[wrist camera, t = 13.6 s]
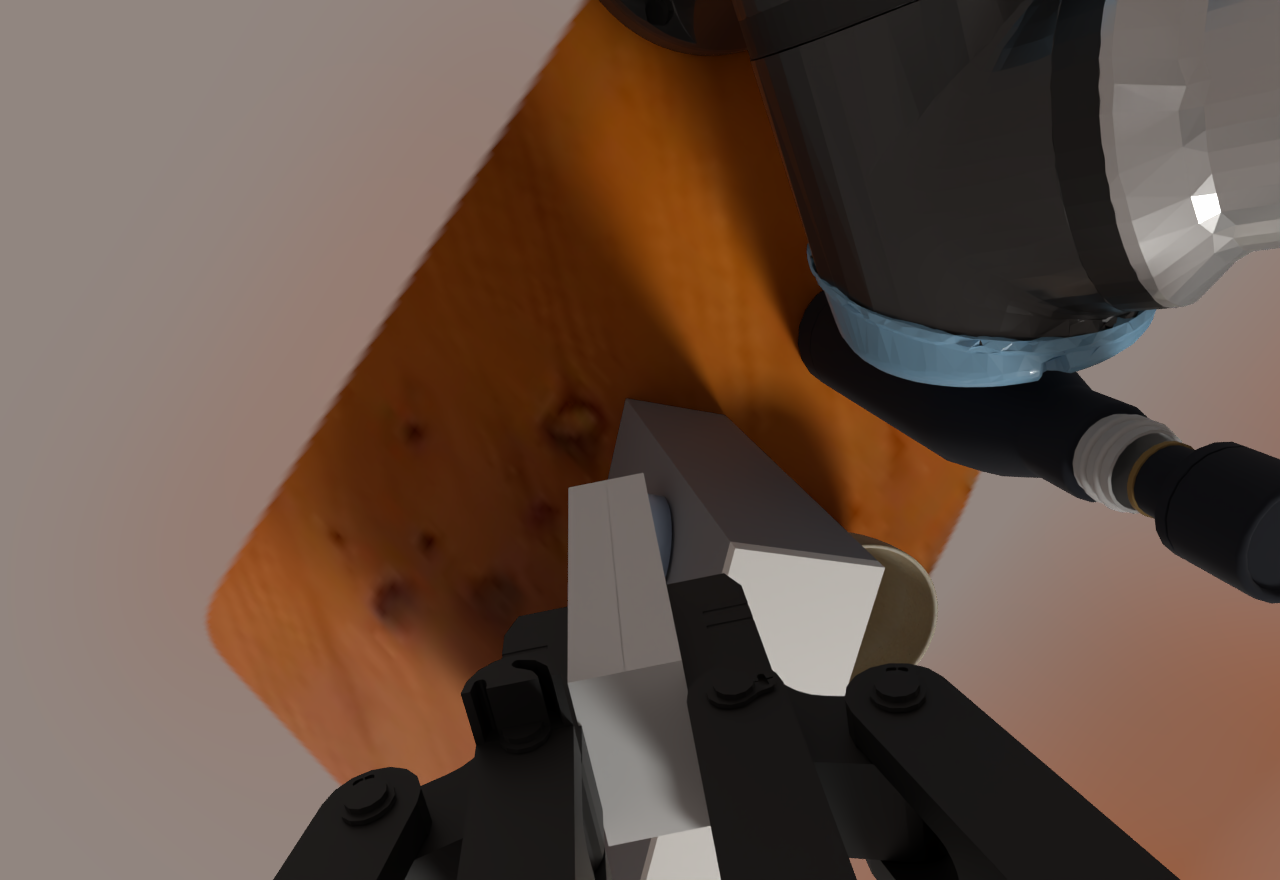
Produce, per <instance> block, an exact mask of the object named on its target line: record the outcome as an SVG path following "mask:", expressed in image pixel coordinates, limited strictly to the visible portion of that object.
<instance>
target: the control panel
mask: <svg viewBox="0 0 1280 880" xmlns="http://www.w3.org/2000/svg"><path fill="white" fill-rule="evenodd" d="M639 473H644V478H645V483H646V488H647V493H648V494H653V495H660V496H663V497H665V498H666V500H667V502H668V505H669V508H670V513H671V522H672V540H671V552H670V559H669V565H668V570H667V574H666V578H665V581H666V585H667V584H672V583H677V582H682V581H687V580H692V579H697V578H702V577H707V576H712V575H717V574H722V573H725V574H726V575H727V576H729V577H730V578H732V579H733V580H734V581H736V582H737V583H739V584H740V585H742V588H743V591H744V594H745V596H746V599H747V602H748V606H749V607H750V610H751V613H752V616H753V620H754V621H755V624H756V627H757V629H758V632H759V635H760V638H761V640H762V643H763V646H764V649H765V651H766V654H767V657H768V660H769V662H770V665H771V668H772V670H773V671H774V672H776V673H777V674H778V676H779V677H780V678H781V680H782V681H783V682H784V684H785V685H786V686H788V687H790V688H793V689H795V690H797V691H800V692H804V693H808V694H813V695H823V696H845V693H846V687H847V685H848V684H849V680H850V677H851V674H852V671H853V668H854V665H855V661H856V658H857V655H858V652H859V649H860V646H861V642H862V639H863V636H864V633H865V630H866V627H867V623H868V620H869V617H870V614H871V611H872V608H873V604H874V601H875V598H876V595H877V592H878V589H879V585H880V582H881V579H882V576H883V573H884V570H885V567H884V566H883V565H882V564H881V563H880V562H878V561H877V560H876V559H875V558H874V557H873V556H872V555H871V554H870V553H869V552H868V551H867V550H866V549H865V548H864V547H863V546H862V545H861V544H860V543H859V542H858V541H856V540H855V539H854V538H853V537H852V536H851V535H850V534H849V533H848V532H847V531H846V530H845V529H844V528H843V527H842V526H841V525H840V524H839V523H838V522H837V521H835V520H834V519H833V518H832V517H831V516H830V515H829V514H828V513H827V512H826V511H825V510H824V509H823V508H822V507H821V506H820V505H819V504H818V503H817V502H816V501H815V500H813V499H812V498H811V497H810V496H809V495H808V494H807V493H806V492H805V491H804V490H803V489H802V488H801V487H800V486H799V485H798V484H797V483H796V482H795V481H794V480H793V479H791V478H790V477H789V476H788V475H787V474H786V473H785V472H784V471H783V470H782V469H781V468H780V467H779V466H778V465H777V464H776V463H775V462H774V461H773V460H772V459H770V458H769V457H768V456H767V455H766V454H765V453H764V452H763V451H762V450H761V449H760V448H759V447H758V446H757V445H756V444H755V443H754V442H753V441H752V440H751V439H750V438H748V437H747V436H746V435H745V434H744V433H743V432H742V431H741V430H740V429H739V428H738V427H737V426H736V425H735V424H734V423H733V422H732V421H731V420H730V419H729V418H728V417H726V416H725V415H722V414H716V413H710V412H704V411H698V410H692V409H686V408H681V407H675V406H669V405H663V404H657V403H651V402H645V401H639V400H633V399H627V398H626V400H625V405H624V409H623V414H622V418H621V423H620V427H619V431H618V436H617V440H616V445H615V449H614V454H613V458H612V463H611V467H610V472H609V476H608V480H609V479H614V478H619V477H624V476H629V475H634V474H639ZM604 846H605V851H606V855H607V859H608V863H609V867H610V871H611V875H612V880H721V877H720V872H719V867H718V862H717V857H716V852H715V846H714V841H713V836H712V831H711V826H707V827H702V828H697V829H692V830H687V831H682V832H677V833H672V834H667V835H663V836H658V837H653V838H648V839H643V840H638V841H633V842H628V843H623V844H618V845H613V846H608V842H607V838H606V834H605V830H604Z"/></svg>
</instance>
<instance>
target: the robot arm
mask: <svg viewBox="0 0 1280 880" xmlns="http://www.w3.org/2000/svg"><path fill="white" fill-rule="evenodd" d="M599 1H600V2H601V3H602V4H603V5H604V6H605V7H606V9H607V10H608V11H609V12H610V13H611V14H612V15H613V16H614V17H616V18H617V19H618V20H619V21H620V22H621V23H623V24H624V25H625V26H626V27H628V28H629V29H630V30H632V31H633V32H635V33H636V34H638V35H640V36H641V37H643V38H644V39H646V40H648V41H650V42H652V43H654V44H657V45H659V46H662V47H664V48H667V49H670V50H673V51H677V52H681V53H686V54H693V55H704V56H716V55H727V54H732V53H738V52H742V51H745V50H748V52H749V56H750V59H751V60H750V62H751V65H752V68H753V71H754V74H755V78H756V81H757V84H758V87H759V90H760V93H761V96H762V99H763V103H764V106H765V109H766V112H767V115H768V118H769V121H770V124H771V128H772V131H773V134H774V137H775V140H776V143H777V146H778V149H779V153H780V156H781V159H782V162H783V165H784V168H785V171H786V174H787V178H788V181H789V184H790V187H791V190H792V193H793V196H794V200H795V203H796V206H797V209H798V212H799V215H800V218H801V221H802V225H803V228H804V231H805V234H806V237H807V240H808V244H807V258H808V263H809V266H810V269H811V272H812V274H813V275H814V276H815V277H816V279H817V282H818V284H819V285H820V287H821V288H822V289H823V290H824V292H825V295H826V297H827V300H828V303H829V305H830V308H831V311H832V314H833V316H834V319H835V322H836V324H837V327H838V329H839V331H840V333H841V335H842V337H843V339H845V341H846V342H847V343H848V345H849V346H850V347H851V348H852V350H853V351H854V352H855V353H856V354H857V355H859V356H860V357H861V358H862V359H863V360H864V361H866V362H868V363H869V364H871V365H873V366H874V367H876V368H878V369H880V370H882V371H884V372H886V373H889V374H891V375H894V376H897V377H900V378H903V379H907V380H911V381H915V382H920V383H926V384H932V385H941V386H952V387H995V386H1007V385H1014V384H1021V383H1028V382H1034V381H1038V380H1039V379H1040V378H1041V376H1042V373H1043V372H1045V371H1047V370H1050V371H1062V372H1066V373H1073V372H1076V371H1079V370H1082V369H1085V368H1088V367H1091V366H1093V365H1096V364H1098V363H1101V362H1103V361H1105V360H1107V359H1109V358H1111V357H1113V356H1115V355H1116V354H1118V353H1119V352H1121V351H1123V350H1124V349H1126V348H1127V347H1129V346H1131V345H1132V344H1133V343H1135V341H1136V340H1137V339H1138V338H1139V337H1140V336H1141V335H1142V334H1143V333H1144V332H1145V330H1146V329H1147V328H1148V327H1149V325H1150V324H1151V322H1152V320H1153V317H1154V314H1155V311H1156V309H1165V308H1177V307H1184V306H1187V305H1191V304H1193V303H1195V302H1197V301H1198V300H1199V299H1200V298H1201V297H1202V296H1203V295H1204V294H1205V293H1206V292H1207V291H1208V290H1209V289H1210V288H1211V287H1212V286H1213V285H1214V284H1215V283H1216V282H1217V281H1218V280H1219V278H1221V277H1222V275H1223V274H1224V273H1225V272H1226V271H1227V270H1228V269H1229V268H1230V267H1231V266H1232V265H1233V264H1234V263H1235V262H1236V261H1238V260H1239V259H1241V258H1243V257H1244V256H1246V255H1248V254H1249V253H1251V252H1253V251H1259V250H1268V249H1276V248H1280V0H599ZM502 656H503V658H502V659H501V660H498V661H495V662H493V663H491V664H489V665H488V666H486V667H484V668H482V669H480V670H479V671H478V672H476V673H475V674H474V675H473V676H472V677H471V678H470V679H469V680H468V681H467V682H466V684H465V686H464V688H463V690H462V692H461V696H462V699H463V703H464V706H465V709H466V713H467V716H468V719H469V723H470V726H471V729H472V733H473V736H474V739H475V743H476V750H475V757H474V758H473V759H472V760H471V761H469V762H468V763H466V764H465V765H464V766H462V767H461V768H459V769H457V770H455V771H453V772H451V773H449V774H447V775H445V776H443V777H441V778H438V779H436V780H434V781H431V782H429V783H427V784H424V785H422V786H420V783H419V780H418V777H417V776H416V775H415V774H413V773H412V772H410V771H409V770H407V769H402V768H394V767H387V768H382V769H376V770H371V771H369V772H366V773H364V774H361V775H359V776H357V777H354V778H352V779H351V780H349V781H348V782H346V783H345V784H343V785H342V786H340V787H339V788H338V789H336V790H335V791H334V792H333V793H332V794H331V795H330V797H328V799H327V800H326V801H325V802H324V803H323V804H322V806H321V807H320V809H319V810H318V812H317V813H316V815H315V817H314V818H313V819H312V821H311V822H310V824H309V826H308V827H307V829H306V830H305V832H304V833H303V835H302V836H301V838H300V840H299V841H298V842H297V844H296V845H295V847H294V849H293V850H292V852H291V853H290V855H289V856H288V858H287V859H286V861H285V863H284V864H283V866H282V867H281V869H280V870H279V872H278V873H277V875H276V876H275V878H274V879H273V880H612V875H611V871H610V867H609V863H608V859H607V855H606V851H605V846H604V830H605V834H606V838H607V842H608V846H613V845H618V844H623V843H628V842H633V841H638V840H643V839H648V838H653V837H658V836H663V835H667V834H672V833H677V832H682V831H687V830H692V829H697V828H702V827H707V826H711V831H712V836H713V841H714V846H715V852H716V857H717V862H718V867H719V872H720V877H721V880H857V879H856V876H855V873H854V871H853V868H852V865H851V863H850V860H849V858H859V859H866V861H867V863H868V866H869V868H870V870H871V872H872V874H873V875H874V877H875V878H876V879H877V880H1180V879H1179V878H1178V877H1176V876H1175V875H1174V874H1173V873H1172V872H1170V871H1169V870H1168V869H1167V868H1166V867H1165V866H1164V865H1162V864H1161V863H1160V862H1159V861H1158V860H1156V859H1155V858H1154V857H1153V856H1152V855H1151V854H1150V853H1148V852H1147V851H1146V850H1145V849H1144V848H1142V847H1141V846H1140V845H1139V844H1138V843H1137V842H1136V841H1134V840H1133V839H1132V838H1131V837H1130V836H1128V835H1127V834H1126V833H1125V832H1124V831H1123V830H1122V829H1120V828H1119V827H1118V826H1117V825H1116V824H1114V823H1113V822H1112V821H1111V820H1110V819H1109V818H1107V817H1106V816H1105V815H1104V814H1103V813H1102V812H1100V811H1099V810H1098V809H1097V808H1096V807H1095V806H1093V805H1092V804H1091V803H1090V802H1089V801H1087V800H1086V799H1085V798H1084V797H1083V796H1082V795H1081V794H1079V793H1078V792H1077V791H1076V790H1075V789H1073V788H1072V787H1071V786H1070V785H1069V784H1068V783H1066V782H1065V781H1064V780H1063V779H1062V778H1061V777H1059V776H1058V775H1057V774H1056V773H1055V772H1054V771H1052V770H1051V769H1050V768H1049V767H1048V766H1047V765H1045V764H1044V763H1043V762H1042V761H1041V760H1040V759H1038V758H1037V757H1036V756H1035V755H1034V754H1033V753H1031V752H1030V751H1029V750H1028V749H1027V748H1026V747H1024V746H1023V745H1022V744H1021V743H1020V742H1019V741H1017V740H1016V739H1015V738H1014V737H1013V736H1012V735H1010V734H1009V733H1008V732H1007V731H1006V730H1004V729H1003V728H1002V727H1001V726H1000V725H999V724H997V723H996V722H995V721H994V720H993V719H992V718H991V717H989V716H988V715H987V714H986V713H985V712H984V711H982V710H981V709H980V708H978V706H976V705H975V704H974V703H973V702H972V701H971V700H969V699H968V698H967V697H966V696H965V695H964V694H962V693H961V692H960V691H959V690H958V689H957V688H955V687H954V686H953V685H952V684H951V683H950V682H948V681H947V680H946V679H945V678H944V677H942V676H941V675H939V674H937V673H935V672H934V671H932V670H930V669H929V668H925V667H921V666H917V665H913V664H909V663H888V664H884V665H879V666H875V667H870V668H868V669H867V670H865V671H863V672H861V673H859V674H858V675H856V676H855V677H854V678H853V679H852V680H851V682H850V683H849V684H848V685H847V687H846V694H845V696H823V695H813V694H808V693H804V692H800V691H797V690H795V689H793V688H790V687H788V686H786V685H785V684H784V682H783V681H782V680H781V678H780V677H779V676H778V674H777V673H776V672H774V671H773V670H772V668H771V665H770V662H769V660H768V657H767V654H766V651H765V649H764V646H763V643H762V640H761V638H760V635H759V632H758V629H757V627H756V624H755V621H754V620H753V616H752V613H751V610H750V607H749V606H748V602H747V599H746V596H745V594H744V591H743V588H742V585H740V584H739V583H737V582H736V581H734V580H733V579H732V578H730V577H729V576H727V575H726V574H725V573H722V574H717V575H712V576H707V577H702V578H697V579H692V580H687V581H682V582H677V583H672V584H667V585H666V581H665V576H664V571H663V566H662V561H661V556H660V551H659V547H658V542H657V537H656V532H655V527H654V522H653V517H652V512H651V507H650V503H649V498H648V493H647V488H646V483H645V478H644V473H639V474H634V475H629V476H624V477H619V478H614V479H609V480H604V481H599V482H594V483H589V484H584V485H579V486H574V487H569V488H568V607H563V608H558V609H553V610H548V611H544V612H539V613H534V614H529V615H524V616H519V617H518V618H517V619H516V621H515V622H514V623H513V625H512V626H511V627H510V629H509V630H508V631H507V633H506V634H505V636H504V644H503V652H502Z"/></svg>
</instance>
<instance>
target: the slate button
mask: <svg viewBox="0 0 1280 880" xmlns="http://www.w3.org/2000/svg"><path fill="white" fill-rule="evenodd" d="M648 498H649V503H650V507H651V512H652V517H653V522H654V527H655V532H656V537H657V542H658V547H659V551H660V556H661V561H662V566H663V571H664V576H665V578H666V574H667V570H668V565H669V559H670V552H671V540H672V522H671V513H670V508H669V505H668V502H667V500H666V498H665V497H663V496H660V495H653V494H648Z"/></svg>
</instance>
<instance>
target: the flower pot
mask: <svg viewBox="0 0 1280 880" xmlns="http://www.w3.org/2000/svg"><path fill="white" fill-rule="evenodd" d="M848 533H849V532H848ZM849 534H850V535H851V536H852V537H853V538H854V539H855V540H856V541H858V542H859V543H860V544H861V545H862V546H863V547H864V548H865V549H866V550H867V551H868V552H869V553H870V554H871V555H872V556H873V557H874V558H875V559H876V560H877V561H878V562H880V563H881V564H882V565H883V566H884V567H885V570H884V573H883V576H882V579H881V582H880V585H879V589H878V592H877V595H876V598H875V601H874V604H873V608H872V611H871V614H870V617H869V620H868V623H867V627H866V630H865V633H864V636H863V639H862V642H861V646H860V649H859V652H858V655H857V658H856V661H855V665H854V668H853V671H852V674H851V677H850V680H849V683H850V682H851V680H852V679H853V678H854V677H855V676H856V675H858V674H859V673H861V672H863V671H865V670H867V669H868V668H870V667H875V666H879V665H884V664H888V663H909V664H913V665H917V664H918V663H919V661H920V660H921V659H922V657H923V655H924V654H925V652H926V650H927V649H928V647H929V644H930V642H931V640H932V637H933V635H934V632H935V627H936V623H937V614H938V605H937V596H936V592H935V589H934V585H933V583H932V581H931V579H930V576H929V575H928V573H927V572H926V571H925V569H924V568H923V567H922V566H921V565H920V564H919V563H918V562H917V561H916V560H915V559H914V558H913V557H911V556H910V555H908V554H907V553H905V552H903V551H901V550H900V549H898V548H896V547H894V546H892V545H890V544H887V543H885V542H882V541H880V540H877V539H874V538H871V537H868V536H864V535H860V534H855V533H849ZM845 694H846V693H845Z"/></svg>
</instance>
